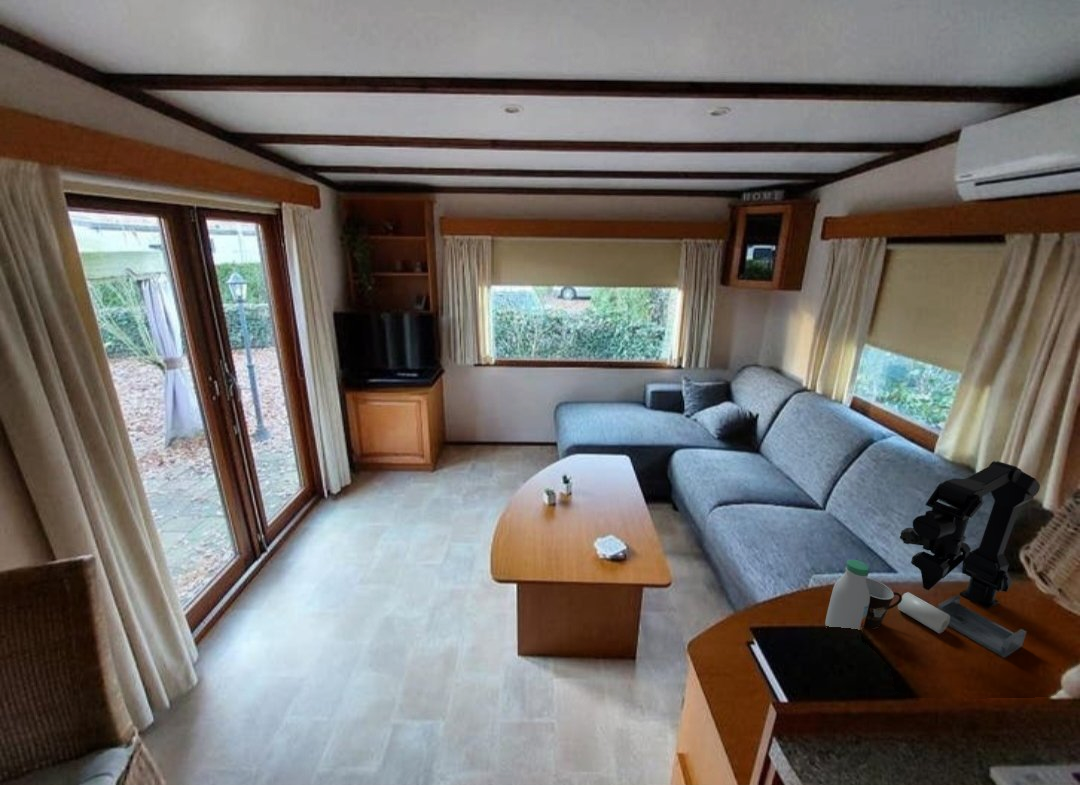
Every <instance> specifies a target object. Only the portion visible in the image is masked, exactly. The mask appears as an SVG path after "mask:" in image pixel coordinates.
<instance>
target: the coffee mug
mask: <svg viewBox="0 0 1080 785" xmlns="http://www.w3.org/2000/svg"><path fill="white" fill-rule="evenodd" d="M866 583H867V587H868V590H869V594H870V602H869V607H868V611H867V615H866V619H865V623H864V627H865V628H868V627H869V628H868V629H872V628H876V627H879V628H880V626H881V624H882V622H883V620H884V618H885V616H886V614H887V611H888V610H890V609H892V608H895V607H896V606H898V604H899V603H900V602H901V601H902V596H903V595H901V594H900V593H899V592H896V591H893V590H892V589H891V588H890V587H888V586H887V585H885V584H884V583H883V582H882V581H881V582H880V581H878V580H876V579H874V578H870V577H866ZM894 596H898V599H897V601H896V602H895V603H893V604H891V603H892V600H893V599H894ZM876 629H877V628H876Z"/></svg>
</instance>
